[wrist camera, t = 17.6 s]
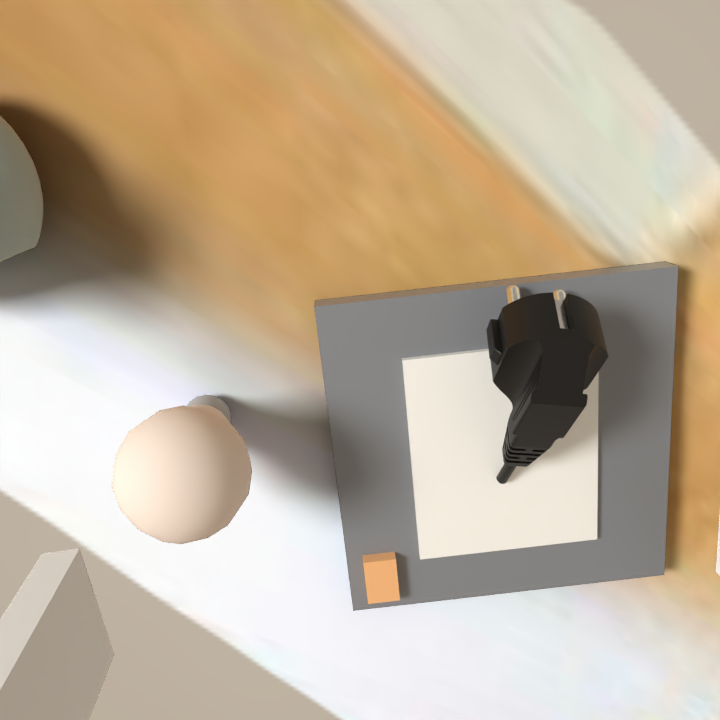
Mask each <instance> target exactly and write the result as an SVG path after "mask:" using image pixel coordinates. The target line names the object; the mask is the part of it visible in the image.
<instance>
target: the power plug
mask: <svg viewBox="0 0 720 720" xmlns="http://www.w3.org/2000/svg"><path fill="white" fill-rule="evenodd" d="M505 293H506V300H507V305H506V306H504V307H503V308H502V310H501V312H500V315H499V317H498V320H497V319H490V322H489V324H488V327H487V329H486V331H487V340H488V349H489V358H490V360H491V369H492V378H493V382H494V384H495V385H496V386H497V387H498V389H499V390H500V391H502V392H503V393H504V394H505V395H506V396H507V397H508V399H509V400H510V401H511V403H512V406H513V409H512V412H511V413H510V416H509V419H508V424H507V429H506V433H505V438H504V444H503V447H502V453H503V461H504V465H503V467H502V468H501V470H500V472H499V473H498V475H497V477H496V479H497V481H498V482H499V483H500V484H505V483H506V482H507V481H508V479H509V478H510V476H511V474H512V473H513V471H514V470H515V468H516V466H521V467H527V466H529V465H530V464H531V463H532V462H533V461H535V460H536V459H537V458H538V457H540V456H541V455H542V454H543V453H545V452H546V451H547V450H548V449H550V448H551V446H552V445H553V443H554V442H555V440H557V439H558V438H564V437H565V435H566V434H567V432H568V431H569V430H570V428H571V427H572V425H573V424H574V422H575V421H576V420H577V418H578V417H579V415H580V414H581V412H582V411H583V410H584V408H585V407H586V405H587V399H588V395H587V394H583V390H585V389H587V388H588V386H589V385H590V383H591V382H592V380H593V379H594V378H595V376H596V375H597V373H598V372H599V370H600V369H601V367H602V366H603V364H604V363H605V361H606V360H607V358H608V357H609V356H608V352H607V348H606V344H605V340H604V335H603V331H602V327H601V323H600V319H599V315H598V312H597V310H596V309H595V307H594V306H593V305H592V304H591V303H590V302H588V301H587V300H585V299H583V298H581V297H578V296H576V295H572V294H567V295H566V292H565V291H564V290H562V289H557V290H555V291H554V292H550V293H539V294H534V295H529V296H526V297H523V298H521V294H520V289H519V288H518V287H517V286H515V285H511V286H509V287H507V289H506V292H505Z"/></svg>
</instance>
